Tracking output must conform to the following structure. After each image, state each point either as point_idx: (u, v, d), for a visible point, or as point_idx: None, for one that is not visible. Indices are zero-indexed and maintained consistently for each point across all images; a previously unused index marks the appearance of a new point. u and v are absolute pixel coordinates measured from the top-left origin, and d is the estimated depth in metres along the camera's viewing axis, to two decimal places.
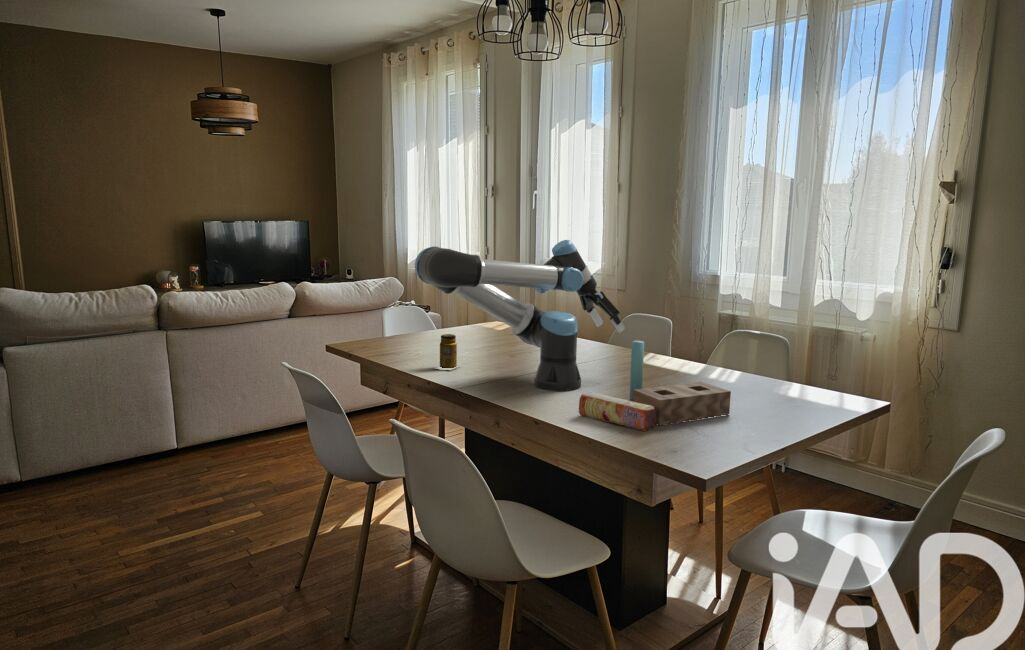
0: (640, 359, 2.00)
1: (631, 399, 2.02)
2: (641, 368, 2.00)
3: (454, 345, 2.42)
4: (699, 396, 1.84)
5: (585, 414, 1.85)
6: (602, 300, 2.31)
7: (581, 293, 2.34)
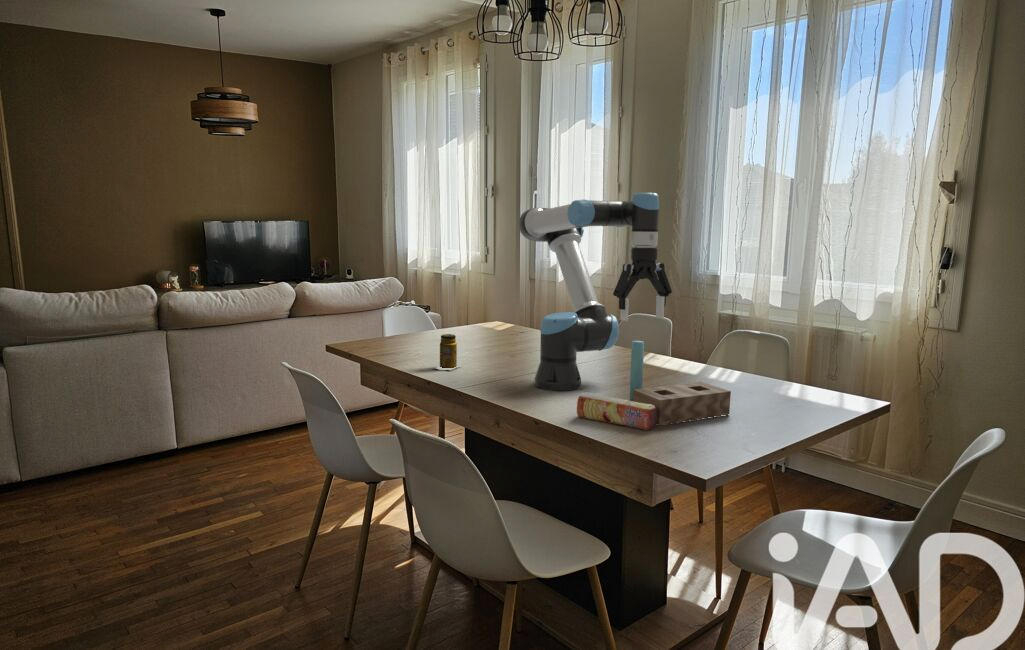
0: (640, 359, 2.00)
1: (631, 399, 2.02)
2: (641, 368, 2.00)
3: (454, 345, 2.42)
4: (699, 396, 1.84)
5: (584, 415, 1.84)
6: (623, 272, 1.96)
7: None
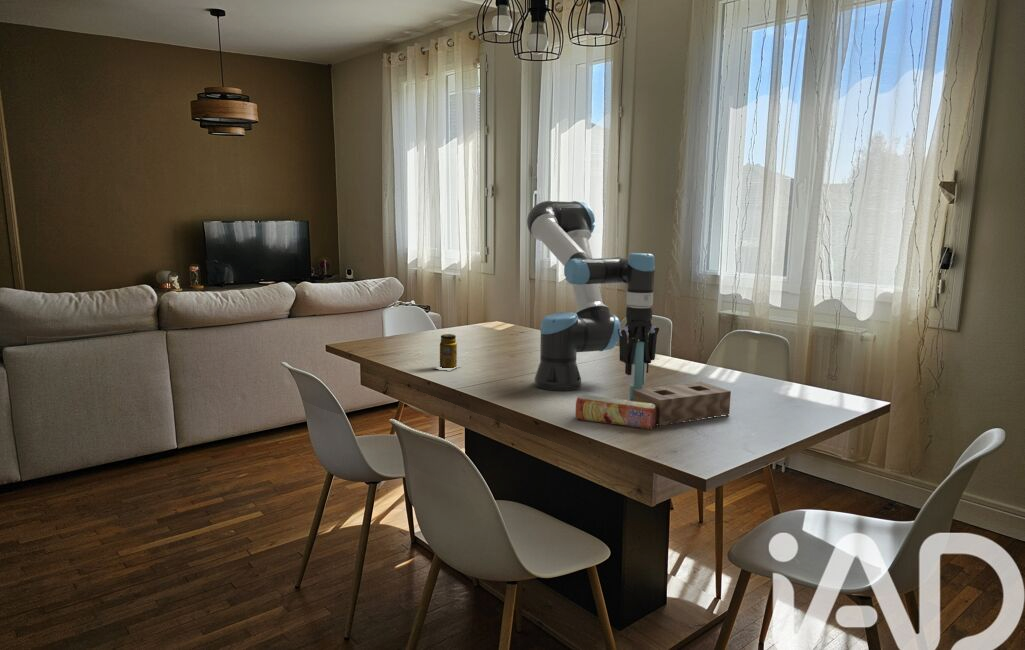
0: (640, 359, 2.00)
1: (631, 399, 2.02)
2: (641, 368, 2.00)
3: (454, 345, 2.42)
4: (699, 396, 1.84)
5: (583, 417, 1.82)
6: (620, 338, 1.98)
7: None
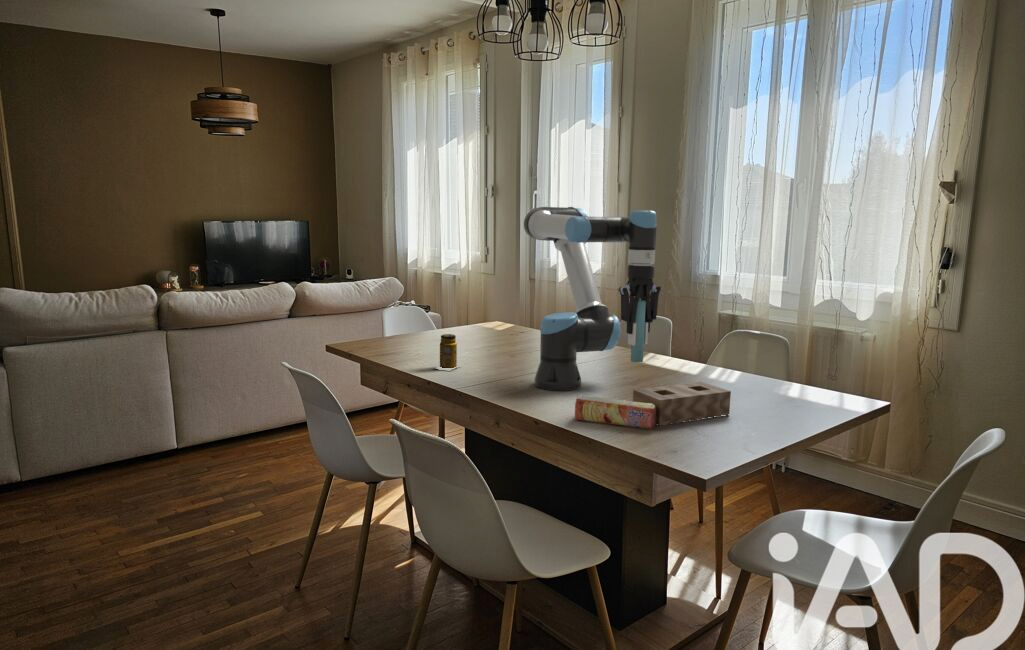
0: (641, 318, 1.98)
1: (632, 359, 2.00)
2: (643, 327, 1.99)
3: (454, 345, 2.42)
4: (699, 396, 1.84)
5: (583, 418, 1.81)
6: (621, 296, 1.97)
7: None
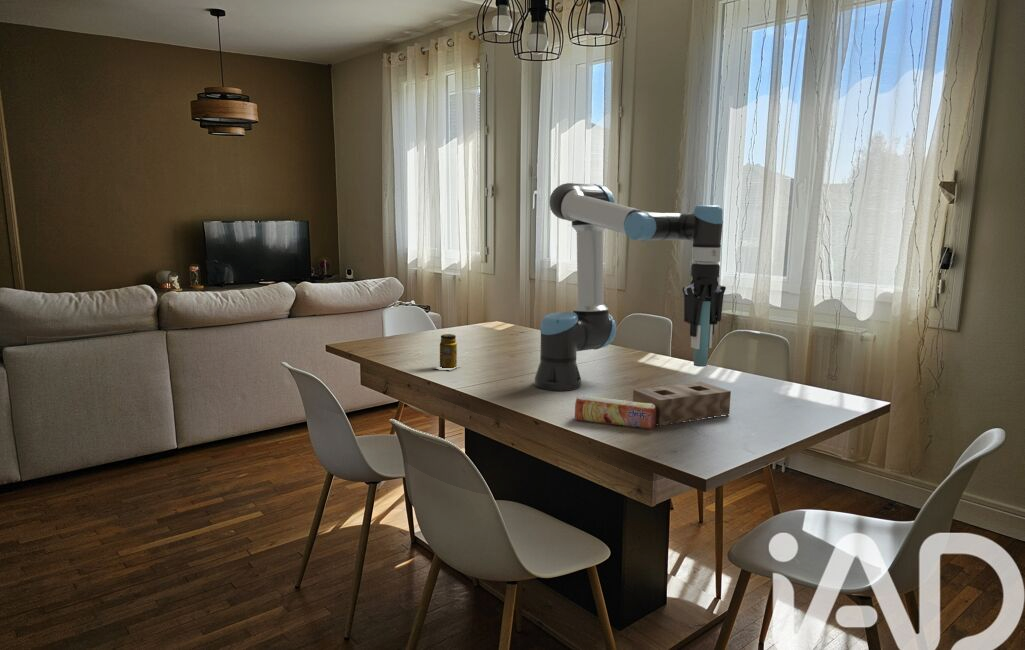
0: (706, 319, 1.86)
1: (696, 363, 1.89)
2: (707, 329, 1.87)
3: (454, 345, 2.42)
4: (699, 396, 1.84)
5: (583, 418, 1.81)
6: (685, 296, 1.85)
7: None
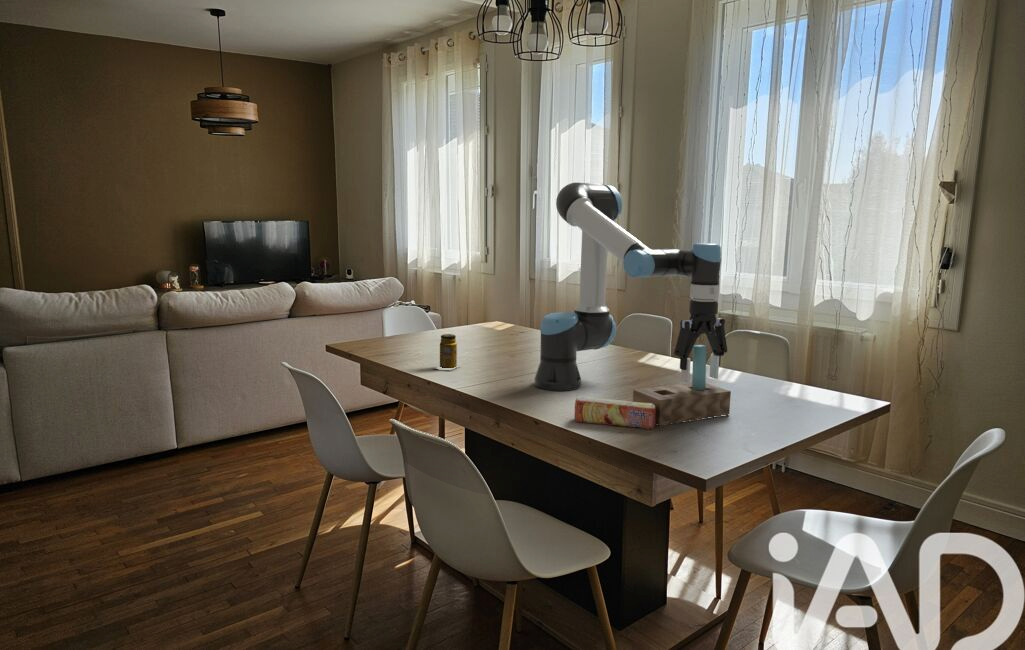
0: (703, 365, 1.88)
1: None
2: (704, 374, 1.89)
3: (454, 345, 2.42)
4: (699, 396, 1.84)
5: (583, 420, 1.80)
6: (681, 330, 1.86)
7: None
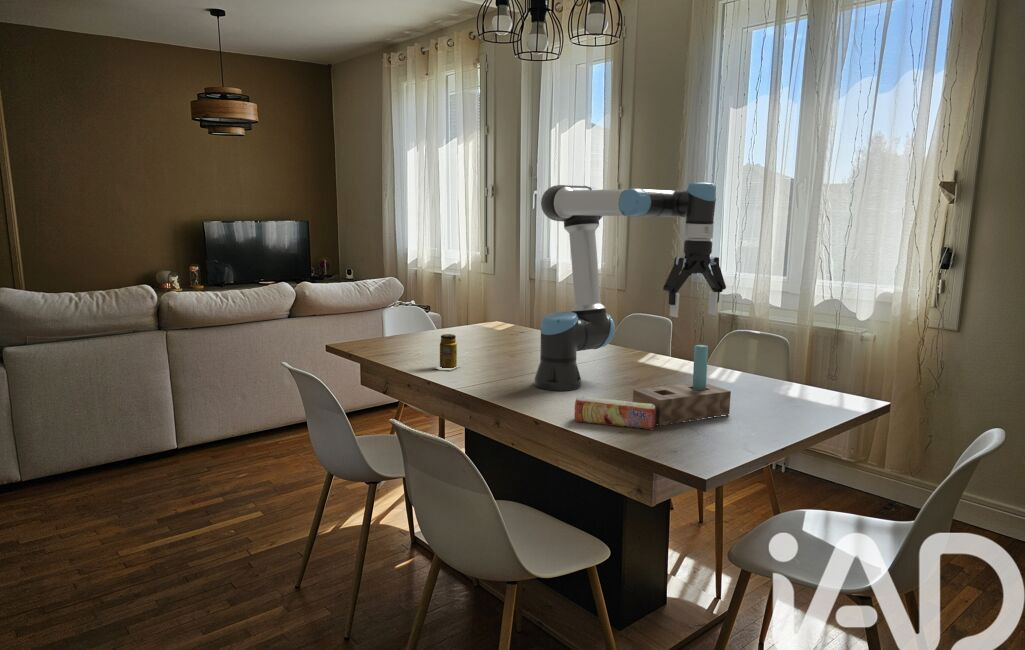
0: (704, 364, 1.88)
1: None
2: (705, 374, 1.89)
3: (454, 345, 2.42)
4: (699, 396, 1.84)
5: (582, 420, 1.80)
6: (674, 266, 1.87)
7: None
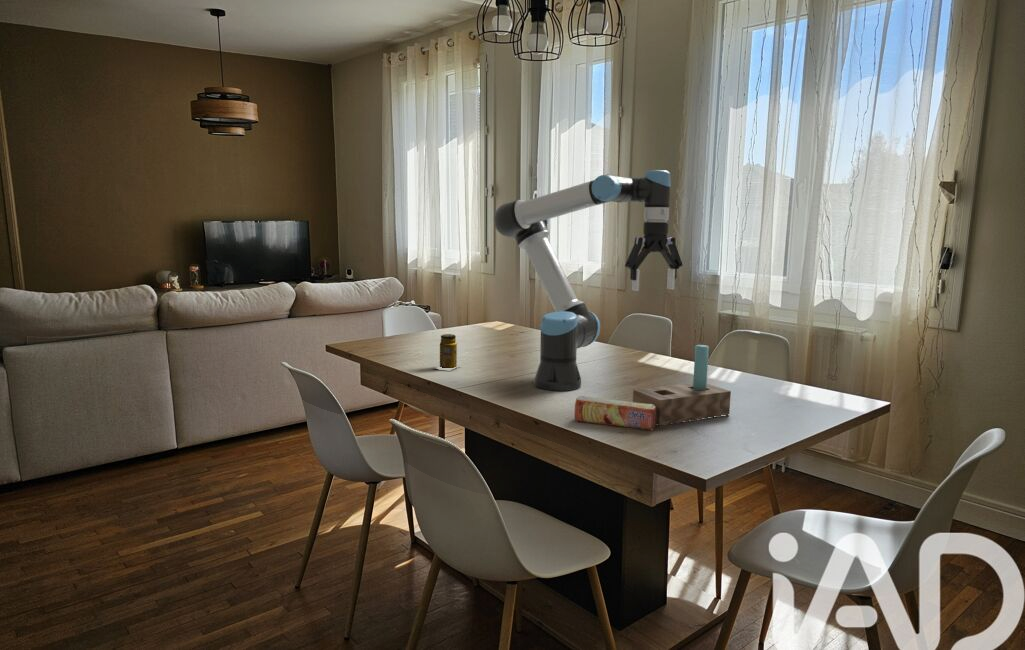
0: (704, 364, 1.88)
1: None
2: (705, 374, 1.89)
3: (454, 345, 2.42)
4: (699, 396, 1.84)
5: (582, 419, 1.80)
6: (634, 245, 2.09)
7: None
